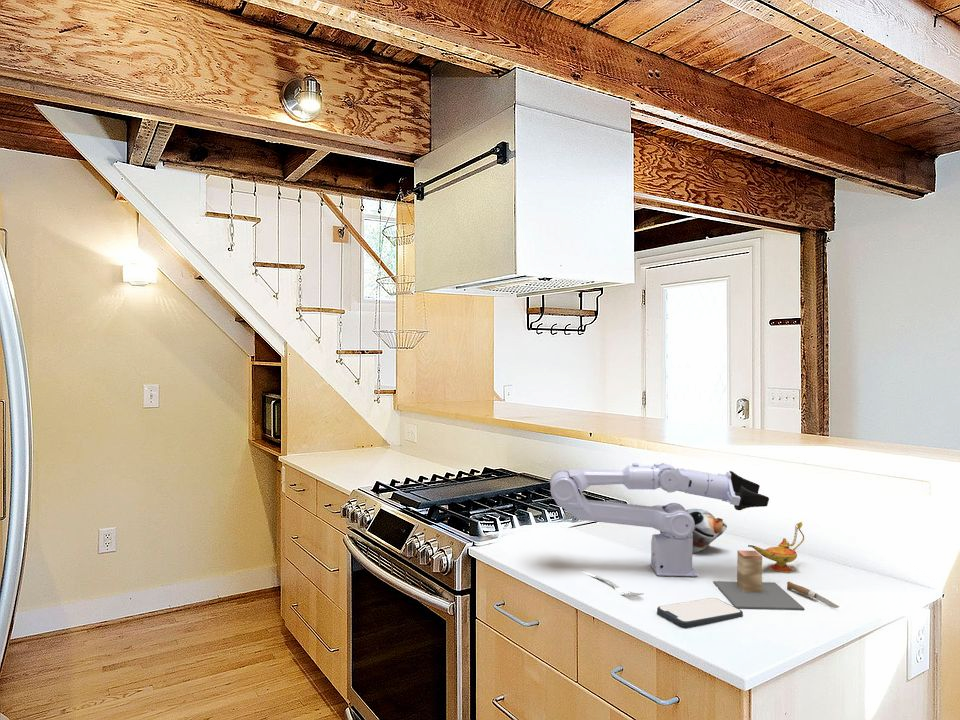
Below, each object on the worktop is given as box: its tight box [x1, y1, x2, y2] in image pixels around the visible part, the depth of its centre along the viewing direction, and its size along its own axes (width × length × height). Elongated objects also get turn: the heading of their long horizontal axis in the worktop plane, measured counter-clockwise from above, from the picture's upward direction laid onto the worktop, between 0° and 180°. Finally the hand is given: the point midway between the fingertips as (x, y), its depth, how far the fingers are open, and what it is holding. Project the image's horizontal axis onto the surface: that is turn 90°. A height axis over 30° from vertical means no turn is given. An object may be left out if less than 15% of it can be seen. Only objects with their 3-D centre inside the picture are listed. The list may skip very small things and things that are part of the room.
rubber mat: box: [712, 580, 805, 611], centre depth 146 cm, size 14×15×1 cm
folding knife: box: [786, 580, 840, 609], centre depth 145 cm, size 14×2×2 cm, turn 22°
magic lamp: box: [747, 521, 805, 573], centre depth 164 cm, size 7×18×11 cm, turn 112°
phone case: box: [656, 597, 744, 629], centre depth 136 cm, size 9×2×16 cm
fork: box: [595, 575, 645, 597], centre depth 154 cm, size 3×24×2 cm, turn 26°
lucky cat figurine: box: [659, 508, 728, 554], centre depth 180 cm, size 15×12×14 cm
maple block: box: [736, 550, 763, 592], centre depth 149 cm, size 4×4×8 cm
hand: (763, 495), depth 160 cm, fingers open, 7 cm apart
